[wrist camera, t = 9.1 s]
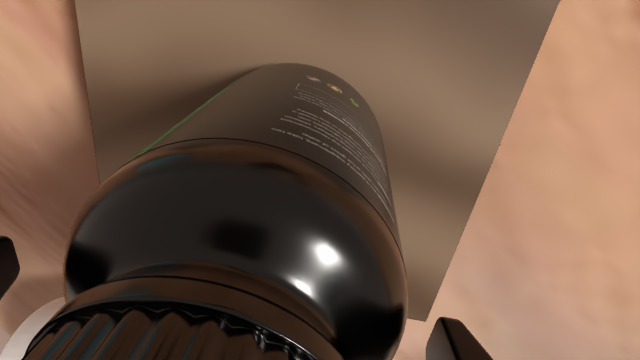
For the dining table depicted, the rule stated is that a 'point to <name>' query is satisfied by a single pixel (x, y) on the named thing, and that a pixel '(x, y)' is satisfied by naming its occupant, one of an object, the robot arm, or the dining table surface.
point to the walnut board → (347, 63)
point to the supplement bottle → (241, 236)
